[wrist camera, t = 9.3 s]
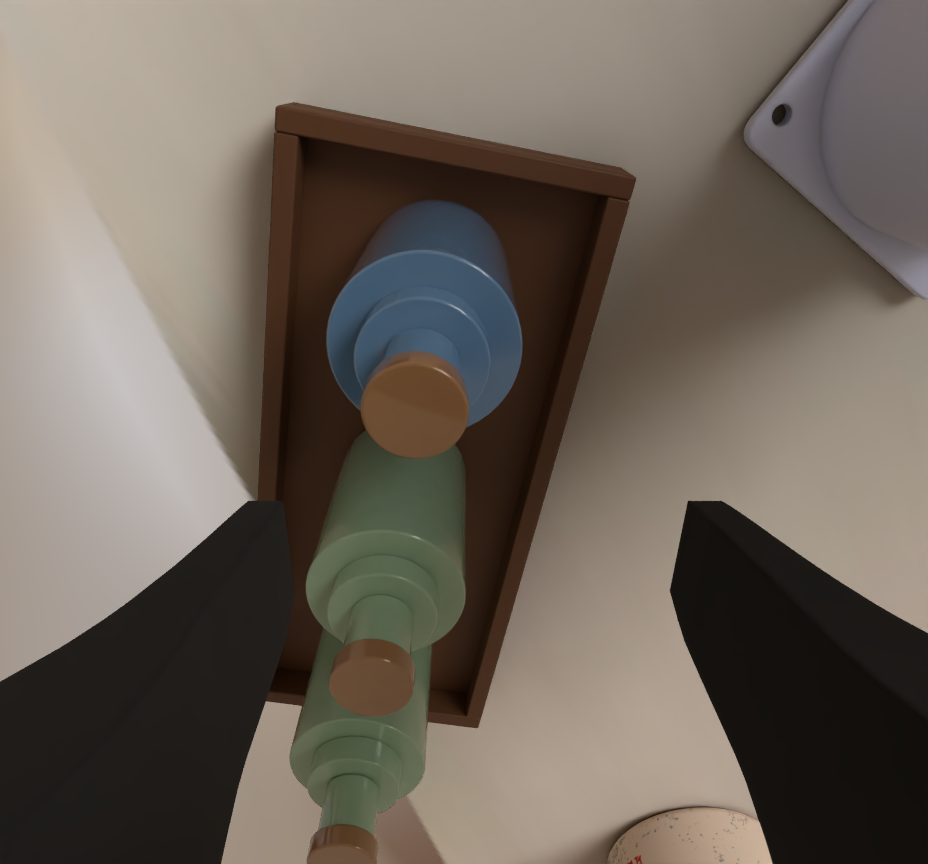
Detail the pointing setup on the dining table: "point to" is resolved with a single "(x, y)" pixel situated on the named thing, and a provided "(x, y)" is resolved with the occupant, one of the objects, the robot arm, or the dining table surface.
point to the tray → (483, 443)
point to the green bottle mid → (388, 569)
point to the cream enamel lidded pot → (693, 839)
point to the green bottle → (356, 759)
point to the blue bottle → (426, 328)
